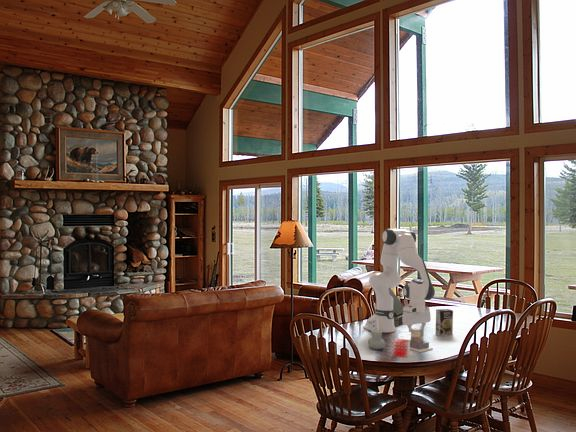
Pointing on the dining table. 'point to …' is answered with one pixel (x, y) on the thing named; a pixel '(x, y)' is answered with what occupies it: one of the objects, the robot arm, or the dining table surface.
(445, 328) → the coffee box
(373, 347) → the air freshener
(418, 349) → the socket board
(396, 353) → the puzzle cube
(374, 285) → the robot arm
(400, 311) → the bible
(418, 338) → the banded block
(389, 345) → the dining table surface
